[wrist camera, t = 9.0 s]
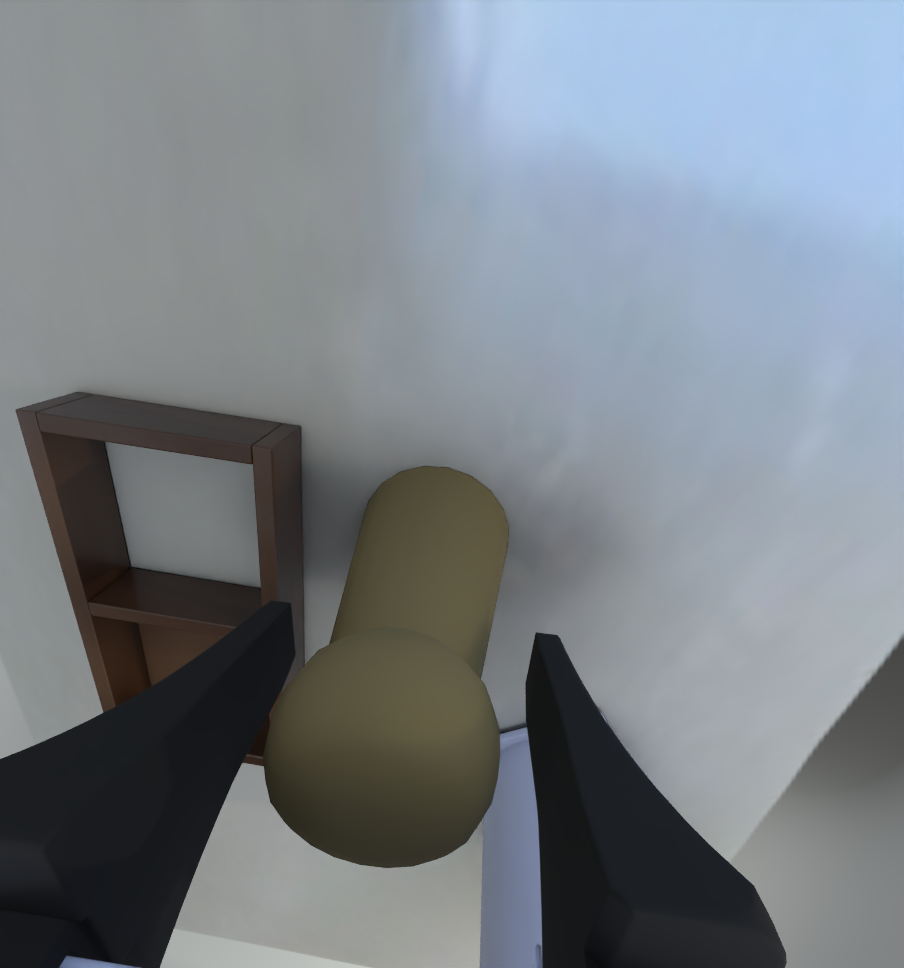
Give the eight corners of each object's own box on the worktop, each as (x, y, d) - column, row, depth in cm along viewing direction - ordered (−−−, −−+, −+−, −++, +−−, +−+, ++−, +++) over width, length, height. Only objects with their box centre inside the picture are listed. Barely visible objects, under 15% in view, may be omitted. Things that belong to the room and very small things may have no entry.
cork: (502, 459, 17) (511, 717, 7) (514, 589, 20) (533, 917, 10) (348, 473, 18) (163, 721, 8) (378, 596, 20) (265, 905, 10)
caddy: (305, 725, 25) (286, 771, 22) (146, 697, 25) (111, 740, 22) (301, 425, 17) (271, 449, 15) (76, 391, 18) (14, 409, 15)
